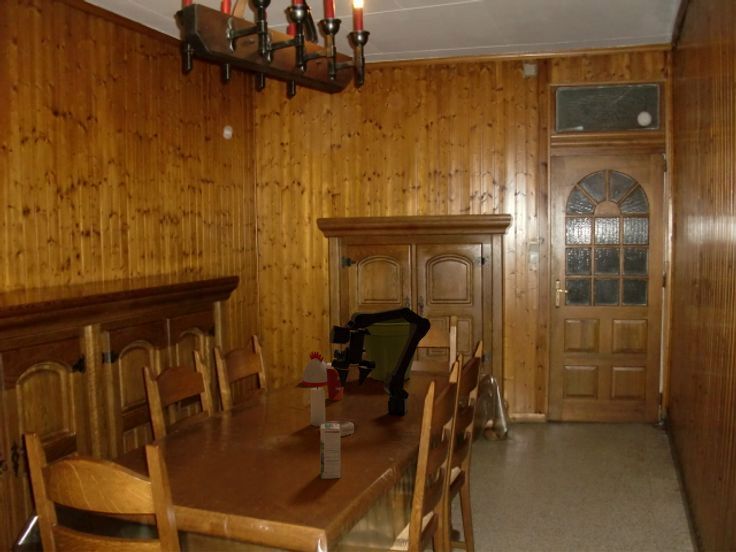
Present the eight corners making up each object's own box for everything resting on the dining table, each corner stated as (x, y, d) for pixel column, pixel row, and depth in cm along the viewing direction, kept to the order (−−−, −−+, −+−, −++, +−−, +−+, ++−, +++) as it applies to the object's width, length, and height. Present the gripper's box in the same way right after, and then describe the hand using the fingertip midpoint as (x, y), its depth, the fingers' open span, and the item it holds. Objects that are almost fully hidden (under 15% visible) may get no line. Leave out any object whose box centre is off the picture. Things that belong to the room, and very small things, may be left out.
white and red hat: (315, 378, 332) (314, 348, 331) (337, 382, 323) (337, 350, 323) (296, 384, 320) (295, 352, 319) (318, 387, 312) (318, 355, 311)
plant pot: (364, 371, 347) (363, 315, 345) (423, 372, 343) (422, 315, 341) (355, 384, 317) (354, 323, 316) (419, 385, 313) (418, 323, 312)
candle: (327, 423, 252) (326, 385, 251) (322, 426, 247) (321, 388, 246) (314, 422, 254) (313, 384, 253) (308, 425, 249) (308, 387, 248)
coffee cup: (342, 401, 285) (342, 365, 284) (323, 400, 286) (323, 365, 286) (347, 396, 293) (346, 362, 292) (328, 396, 295) (328, 361, 294)
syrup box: (320, 472, 199) (319, 423, 198) (340, 471, 199) (339, 422, 199) (320, 479, 193) (319, 429, 192) (341, 478, 194) (340, 428, 193)
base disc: (358, 428, 244) (358, 421, 244) (347, 437, 233) (347, 431, 233) (327, 425, 248) (327, 419, 248) (314, 435, 237) (314, 428, 237)
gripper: (358, 342, 270) (353, 381, 270) (324, 341, 257) (318, 382, 257) (379, 347, 262) (373, 387, 262) (344, 346, 249) (338, 389, 249)
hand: (351, 386), depth 258 cm, fingers open, 9 cm apart
